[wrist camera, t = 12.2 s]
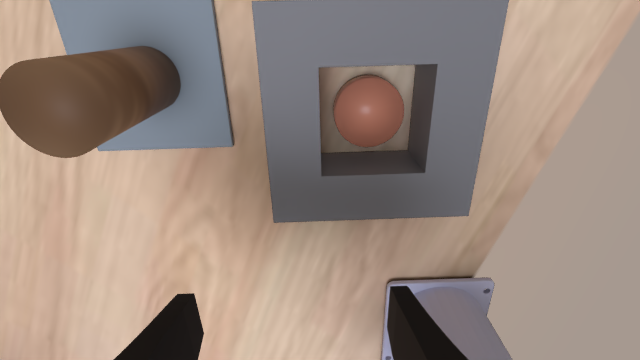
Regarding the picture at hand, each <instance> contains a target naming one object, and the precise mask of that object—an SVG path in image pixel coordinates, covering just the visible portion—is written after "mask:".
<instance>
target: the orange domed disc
mask: <svg viewBox="0 0 640 360" xmlns="http://www.w3.org/2000/svg"><path fill="white" fill-rule="evenodd" d="M333 111H334V118H335V122H336V125H337V128H338V130H339V132H340V133H341V135H342V136H343V137H344V138H345V139H346V140H347V141H349V142H350V143H352V144H354V145H357V146H362V147H373V146H377V145H380V144H382V143H384V142H386V141H388V140H389V139H390V138H391V137H393V136H394V134H395V133H396V132H397V131H398V129H399V127H400V126H401V123H402V120H403V116H404V104H403V100H402V98H401V95H400V94H399V92H398V91H397V90H396V88H395V87H393V86H392V85H391V84H390V83H389V82H387V81H386V80H384V79H382V78H380V77H378V76H373V75H363V76H359V77H356V78H353V79H352V80H350V81H348V82H347V83H346V84H345V85H344V86H343V87H342V88H341V89H340V91H339V92H338V94H337V96H336V98H335V101H334V109H333Z"/></svg>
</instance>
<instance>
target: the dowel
mask: <svg viewBox="0 0 640 360" xmlns="http://www.w3.org/2000/svg"><path fill="white" fill-rule="evenodd" d="M180 88H181V82H180V76H179V73H178V70H177V68H176V66H175V65H174V63H173V62H172V61H171V60H170V58H169V57H168V56H166V55H165V54H164V53H162V52H161V51H159V50H157V49H155V48H152V47H148V46H135V47H127V48H119V49H111V50H103V51H96V52H88V53H80V54H72V55H64V56H56V57H48V58H40V59H32V60H26V61H21V62H18V63H15V64H14V65H12V66H10V67H9V68H8V69H7V70H6V71H5V72H4V74H3V75H2V77H1V79H0V110H1V112H2V115H3V117H4V119H5V120H6V122H7V124H8V125H9V126H10V128H11V129H12V130H13V131H14V133H15V134H16V135H17V136H18V137H19V138H20V139H22V140H23V141H24V142H25V143H27V144H28V145H29V146H31V147H33V148H34V149H36V150H38V151H40V152H42V153H45V154H47V155H51V156H55V157H62V158H72V157H77V156H80V155H83V154H85V153H87V152H89V151H91V150H92V149H94V148H96V147H98V146H100V145H101V144H103V143H105V142H107V141H108V140H110V139H112V138H114V137H116V136H117V135H119V134H121V133H123V132H124V131H126V130H128V129H130V128H132V127H133V126H135V125H137V124H139V123H140V122H142V121H144V120H146V119H148V118H149V117H151V116H153V115H155V114H156V113H158V112H160V111H162V110H164V109H165V108H167V107H169V106H170V105H172V104H173V103H174V102H175V101H176V99H177V98H178V96H179V93H180Z"/></svg>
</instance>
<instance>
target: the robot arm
mask: <svg viewBox="0 0 640 360" xmlns="http://www.w3.org/2000/svg"><path fill="white" fill-rule="evenodd" d="M485 289H486V290H485ZM493 289H494V282H493V281H492V279H491V278H461V279H433V280H406V281H391V282H389V283H388V284H387V290H386V303H385V317H384V330H383V343H382V356H381V360H512V358H511V357H510V355H509V353H508V351H507V350H506V348H505V346H504V345H503V343H502V341H501V339H500V338H499V336H498V334H497V333H496V331H495V329H494V328H493V326H492V324H491V323H490V321H489V319H488V318H487V312H488V308H489V304H490V301H491V297H492V293H493ZM203 335H204V332H203V328H202V324H201V320H200V316H199V312H198V307H197V303H196V299H195V295H194V294H177V295H176V296H175V297H174V298H173V299H172V300H171V301H170V302H169V303H168V305H167V306H166V307H165V308H164V309H163V310H162V311H161V312H160V313H159V314H158V315H157V316H156V317H155V318H154V320H153V321H152V322H151V323H150V324H149V325H148V326H147V327H146V328H145V329H144V330H143V331H142V332H141V333H140V334H139V335H138V336H137V337H136V338H135V339H134V340H133V341H132V342H131V343H130V344H129V345H128V346H127V347H126V348H125V349H124V350H123V351H122V352H121V353H120V354H119V355H118V356H117V357H116V358H115V359H114V360H198V356H199V352H200V348H201V344H202V339H203Z"/></svg>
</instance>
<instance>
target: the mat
mask: <svg viewBox="0 0 640 360" xmlns="http://www.w3.org/2000/svg"><path fill="white" fill-rule="evenodd" d="M49 1H50V4H51V7H52V10H53V13H54V16H55V19H56V22H57V25H58V28H59V31H60V34H61V37H62V40H63V44H64V47H65V50H66V53H67V55H72V54H80V53H88V52H96V51H103V50H111V49H119V48H127V47H135V46H148V47H152V48H155V49H157V50H159V51H161V52H162V53H164V54H165V55H166V56H168V57H169V58H170V60H171V61H172V62H173V63H174V65H175V66H176V68H177V70H178V73H179V76H180V82H181V88H180V93H179V96H178V98H177V99H176V101H175V102H174V103H173V104H172V105H170V106H169V107H167V108H165V109H164V110H162V111H160V112H158V113H156V114H155V115H153V116H151V117H149V118H148V119H146V120H144V121H142V122H140V123H139V124H137V125H135V126H133V127H132V128H130V129H128V130H126V131H124V132H123V133H121V134H119V135H117V136H116V137H114V138H112V139H110V140H108V141H107V142H105V143H103V144H101V145H100V146H98V147H97V148H98V151H116V150H147V149H177V148H208V147H233V145H234V142H233V135H232V128H231V121H230V114H229V107H228V100H227V93H226V86H225V79H224V72H223V65H222V58H221V51H220V44H219V37H218V30H217V23H216V16H215V9H214V2H213V0H49Z"/></svg>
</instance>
